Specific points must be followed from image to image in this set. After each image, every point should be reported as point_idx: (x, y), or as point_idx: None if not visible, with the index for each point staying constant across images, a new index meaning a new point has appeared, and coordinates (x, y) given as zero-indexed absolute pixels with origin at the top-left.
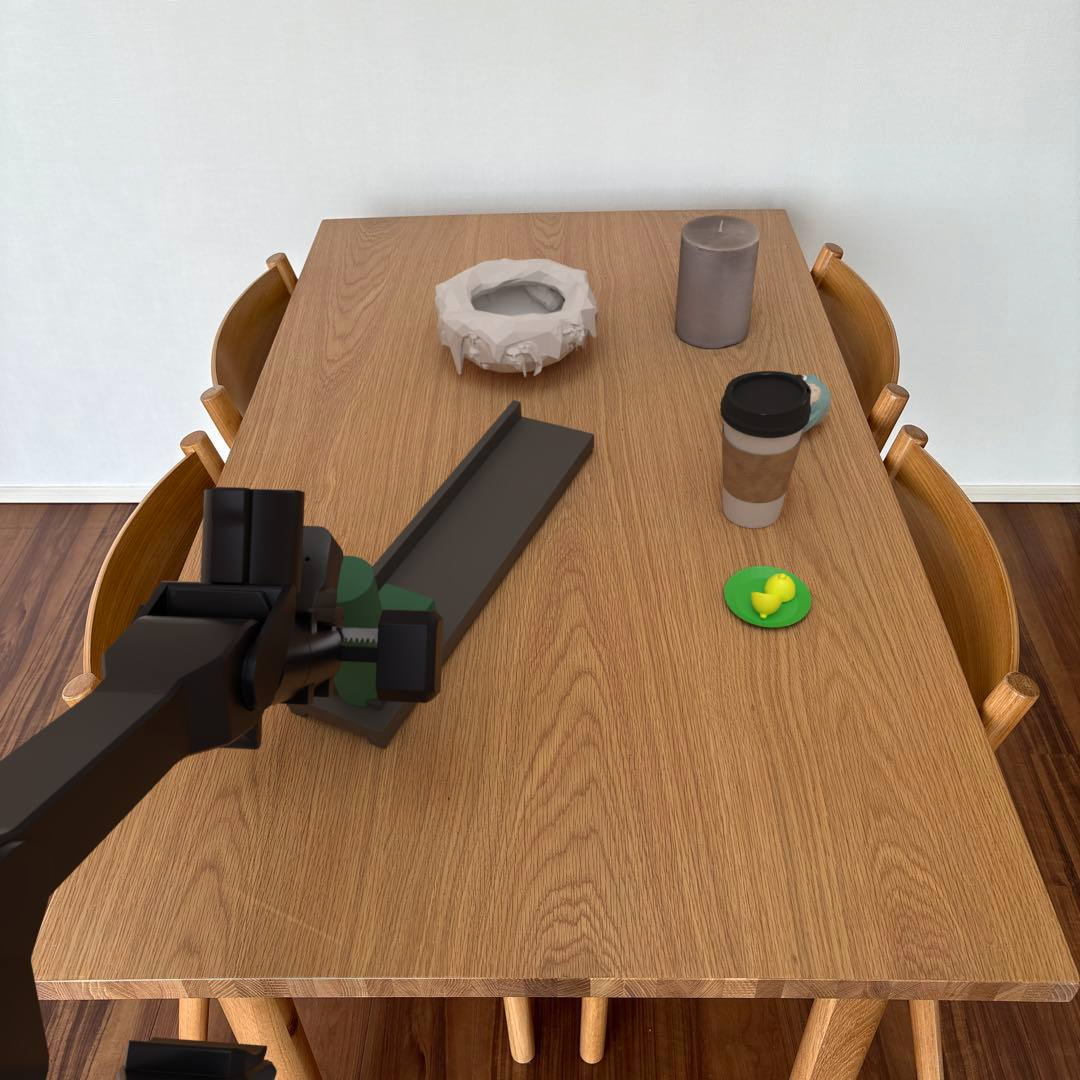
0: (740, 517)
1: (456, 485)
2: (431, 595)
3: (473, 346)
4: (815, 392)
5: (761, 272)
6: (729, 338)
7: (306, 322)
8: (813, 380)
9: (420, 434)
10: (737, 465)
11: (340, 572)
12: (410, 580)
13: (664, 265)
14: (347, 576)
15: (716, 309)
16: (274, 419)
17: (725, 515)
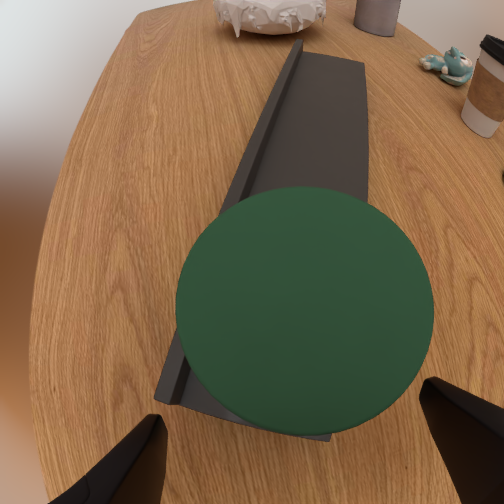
0: (483, 129)
1: (283, 91)
2: None
3: (251, 14)
4: (470, 61)
5: None
6: (390, 32)
7: (126, 42)
8: (464, 55)
9: (219, 71)
10: (497, 93)
11: (303, 263)
12: None
13: (326, 6)
14: (338, 278)
15: (386, 15)
16: (107, 87)
17: (469, 127)
